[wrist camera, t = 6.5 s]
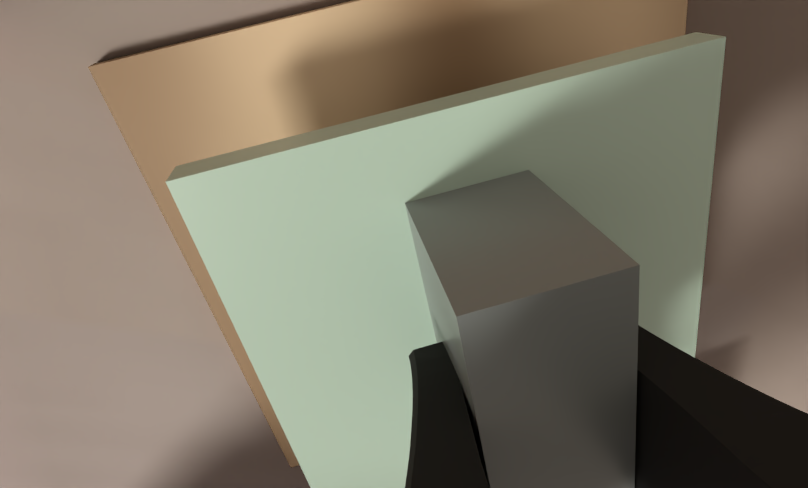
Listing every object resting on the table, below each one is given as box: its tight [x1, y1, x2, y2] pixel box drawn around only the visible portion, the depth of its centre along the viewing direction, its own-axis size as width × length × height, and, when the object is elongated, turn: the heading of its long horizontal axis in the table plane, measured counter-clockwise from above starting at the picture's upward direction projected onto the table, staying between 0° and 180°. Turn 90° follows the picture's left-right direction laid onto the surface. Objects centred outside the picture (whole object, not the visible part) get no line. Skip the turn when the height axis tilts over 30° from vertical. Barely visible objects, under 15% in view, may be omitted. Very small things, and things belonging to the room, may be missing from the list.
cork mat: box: [88, 0, 688, 468], centre depth 14 cm, size 13×13×1 cm
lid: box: [166, 32, 726, 488], centre depth 10 cm, size 10×10×5 cm
